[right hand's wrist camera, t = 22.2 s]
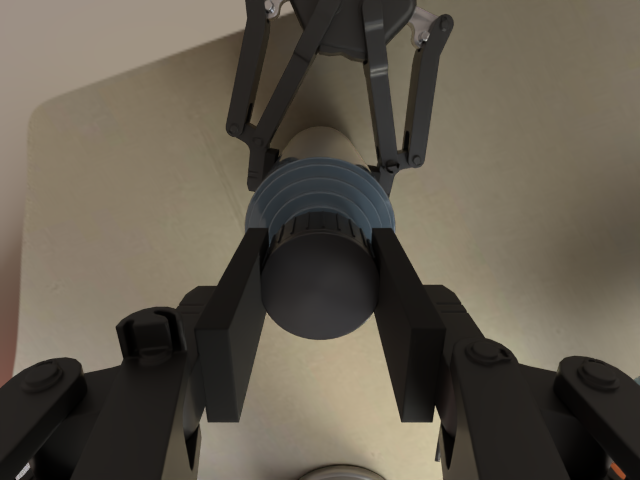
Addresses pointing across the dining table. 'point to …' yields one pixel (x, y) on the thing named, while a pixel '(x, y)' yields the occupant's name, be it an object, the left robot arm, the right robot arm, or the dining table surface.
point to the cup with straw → (618, 470)
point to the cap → (320, 276)
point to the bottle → (320, 185)
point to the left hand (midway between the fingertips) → (310, 238)
